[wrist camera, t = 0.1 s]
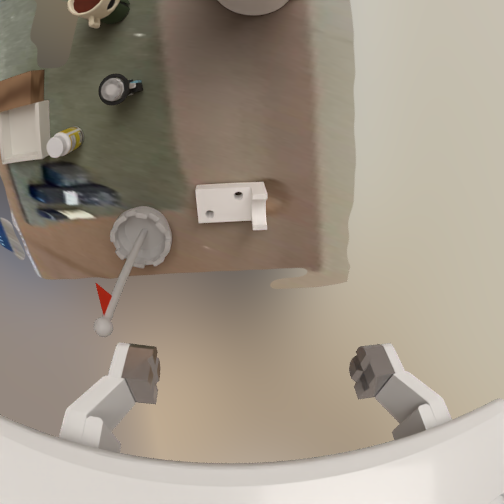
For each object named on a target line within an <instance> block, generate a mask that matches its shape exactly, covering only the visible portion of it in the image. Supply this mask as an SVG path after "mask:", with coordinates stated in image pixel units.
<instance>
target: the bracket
mask: <svg viewBox="0 0 504 504" xmlns="http://www.w3.org/2000/svg"><path fill="white" fill-rule="evenodd" d="M195 192H196V202H197V212H198V221H199V223H212V222H232V221H252V227H253V230H267V222H266V199H267V191H266V188H265V185H264V182H244V183H222V184H205V185H197V186H196V189H195ZM236 192H241V193H242V194H241V195H235V193H236ZM209 210H211V212H210V211H209Z"/></svg>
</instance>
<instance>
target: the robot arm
mask: <svg viewBox="0 0 504 504" xmlns="http://www.w3.org/2000/svg"><path fill="white" fill-rule="evenodd" d="M218 1H219V2H220V3H221V4H222V5H223V6H224V7H226V8H227V9H229V10H231V11H233V12H236V13H239V14H244V15H263V14H267V13H271V12H273V11H275V10H277V9H279V8H281V7H282V6H283V5H284V4H285V3H287V2H288V1H289V0H218ZM356 353H357V355H356V356H355V357H354V358H353V359H352V360H351V362H350V367H349V371H350V376H351V378H352V379H353V380H354V381H355V382H356V383H355V386H354V388H355V391H356V394H357V397H358V399H364V398H371V397H375V398H376V400H377V401H378V402H379V403H380V404H381V405H382V406H383V407H384V408H385V409H386V410H387V411H388V412H389V413H390V414H391V415H392V416H393V417H394V418H395V419H396V420H397V421H398V422H399V423H400V425H398V426H397V427H396V428H395V429H394V430H393V432H392V433H393V437H394V440H393V441H390V442H386V443H383V444H379V445H375V446H371V447H367V448H363V449H358V450H354V451H349V452H344V453H338V454H333V455H327V456H321V457H314V458H307V459H299V460H289V461H277V462H263V463H198V462H182V461H172V460H162V459H154V458H147V457H140V456H134V455H128V454H123V453H120V447H121V443H120V442H119V441H118V439H117V438H116V437H115V436H114V435H113V433H112V430H113V429H114V428H115V427H116V426H117V425H118V423H119V422H120V421H121V420H122V419H123V418H124V416H125V415H126V414H127V413H128V412H129V410H130V409H131V408H132V407H133V406H134V405H135V402H139V403H149V404H156V398H157V392H158V389H157V386H156V383H157V382H158V381H159V378H160V361H159V358H157V348H156V347H154V346H145V345H137V344H130V343H121V342H119V343H118V344H117V345H116V349H115V352H114V356H113V359H112V362H111V366H110V369H109V373H108V376H103V377H102V378H101V379H100V380H99V381H98V382H96V383H95V384H94V385H93V386H92V387H91V388H90V389H89V390H87V391H86V392H85V393H84V394H83V395H82V396H81V397H80V398H78V399H77V400H76V401H75V402H74V403H73V404H71V405H70V406H69V407H68V408H67V409H66V412H65V416H64V419H63V423H62V427H61V431H60V435H59V437H56V436H53V435H50V434H47V433H44V432H41V431H38V430H36V429H33V428H31V427H28V426H26V425H23V424H21V423H18V422H15V421H13V420H11V419H9V418H7V417H4V416H2V415H0V504H504V400H503V399H496V400H493V401H491V402H490V403H488V404H486V405H484V406H482V407H480V408H477V409H476V410H473V411H471V412H469V413H467V414H465V415H462V416H460V417H458V418H455V419H453V420H452V418H451V416H450V413H449V411H448V409H447V407H446V404H445V402H444V400H443V398H442V397H441V396H439V395H438V394H437V393H435V392H434V391H433V390H431V389H430V388H429V387H428V386H426V385H425V384H424V383H422V382H421V381H420V380H419V379H417V378H416V377H415V376H413V375H412V374H411V373H409V372H408V371H407V372H405V370H404V368H403V366H402V364H401V361H400V359H399V357H398V355H397V353H396V351H395V349H394V347H393V345H392V344H390V343H389V344H381V345H380V344H377V345H369V346H361V347H359V348H358V349H357V351H356Z"/></svg>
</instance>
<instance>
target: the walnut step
mask: <svg viewBox="0 0 504 504" xmlns="http://www.w3.org/2000/svg"><path fill="white" fill-rule="evenodd" d="M41 101H44V70H36V71H29V72H26V73H23V74H20V75H17V76H14V77H11V78H8V79H5V80H3V81H0V112H3V111H7V110H10V109H14V108H17V107H21V106H25V105H29V104H33V103H37V102H41Z"/></svg>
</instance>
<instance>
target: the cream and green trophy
mask: <svg viewBox="0 0 504 504" xmlns="http://www.w3.org/2000/svg"><path fill="white" fill-rule="evenodd" d="M126 3H128V4H130V3H129V1H128V0H68V2H67V6H68V10H69V11H70V12H71V14H73V15H76V16H79V17H82V18H85V19H88V20H89V23H88V24H89V26H90V27H92V28H96V29H97V28H99V27H100V21H102V22H104V23H106V24H114V23H116V22H119V21H121V20H122V19H123V18H124V17H125V16H126V15H127V13H128V11H129V8H128V7H127V5H126ZM94 20H95V22H94Z"/></svg>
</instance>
